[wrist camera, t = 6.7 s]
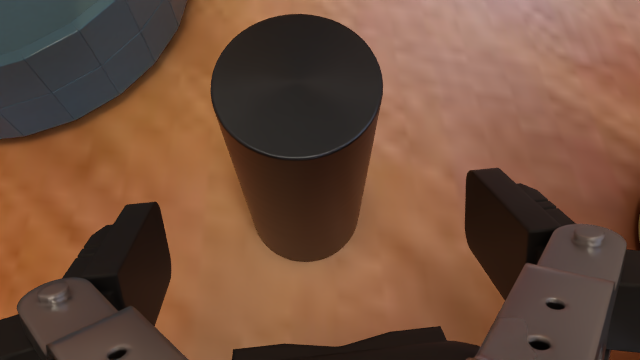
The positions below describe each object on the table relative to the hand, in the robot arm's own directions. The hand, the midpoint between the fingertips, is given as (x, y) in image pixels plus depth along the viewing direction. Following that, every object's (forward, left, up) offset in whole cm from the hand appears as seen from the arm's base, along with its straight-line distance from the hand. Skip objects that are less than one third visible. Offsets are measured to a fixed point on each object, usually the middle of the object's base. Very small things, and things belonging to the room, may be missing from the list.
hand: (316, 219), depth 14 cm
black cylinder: (0, +4, -10) cm, 11 cm away
